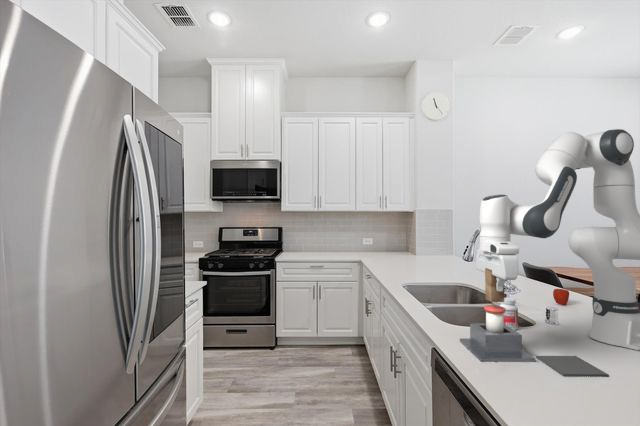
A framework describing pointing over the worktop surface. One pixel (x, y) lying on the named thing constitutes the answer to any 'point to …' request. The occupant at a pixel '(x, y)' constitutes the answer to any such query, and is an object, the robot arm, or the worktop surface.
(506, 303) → the pill bottle
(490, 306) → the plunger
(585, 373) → the mat
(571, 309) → the worktop surface
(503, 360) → the box
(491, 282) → the stacked wooden blocks
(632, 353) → the worktop surface
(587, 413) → the worktop surface
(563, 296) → the apple
